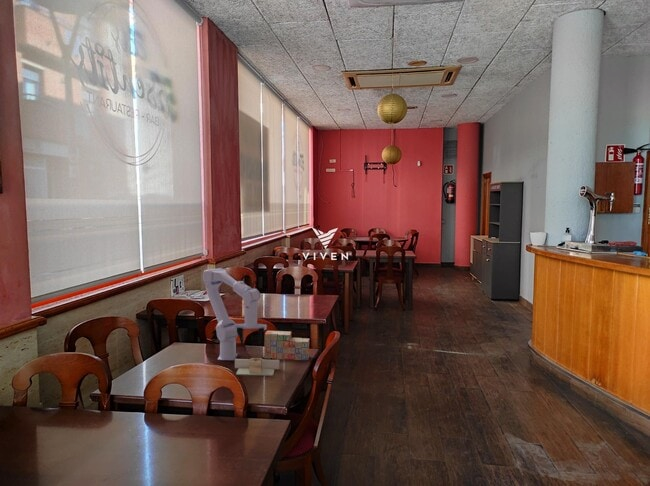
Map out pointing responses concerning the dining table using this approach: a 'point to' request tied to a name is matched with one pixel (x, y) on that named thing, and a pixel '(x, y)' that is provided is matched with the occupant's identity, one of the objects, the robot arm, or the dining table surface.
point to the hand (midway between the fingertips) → (250, 344)
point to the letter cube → (255, 365)
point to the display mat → (246, 372)
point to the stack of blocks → (285, 346)
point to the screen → (265, 364)
